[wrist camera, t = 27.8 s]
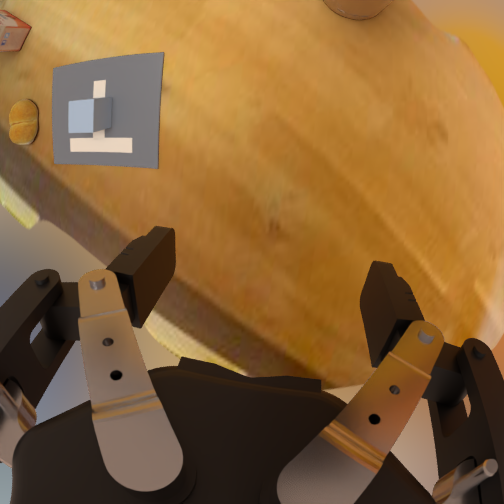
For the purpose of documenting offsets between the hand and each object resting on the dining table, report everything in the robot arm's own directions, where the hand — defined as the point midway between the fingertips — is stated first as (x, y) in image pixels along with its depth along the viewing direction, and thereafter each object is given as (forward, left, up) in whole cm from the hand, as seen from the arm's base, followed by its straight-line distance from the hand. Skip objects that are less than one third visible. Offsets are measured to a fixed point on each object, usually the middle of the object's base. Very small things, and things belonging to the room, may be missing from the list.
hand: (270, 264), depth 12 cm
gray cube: (-3, -30, -32) cm, 44 cm away
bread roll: (-2, -49, -32) cm, 59 cm away
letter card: (-3, -30, -32) cm, 44 cm away
